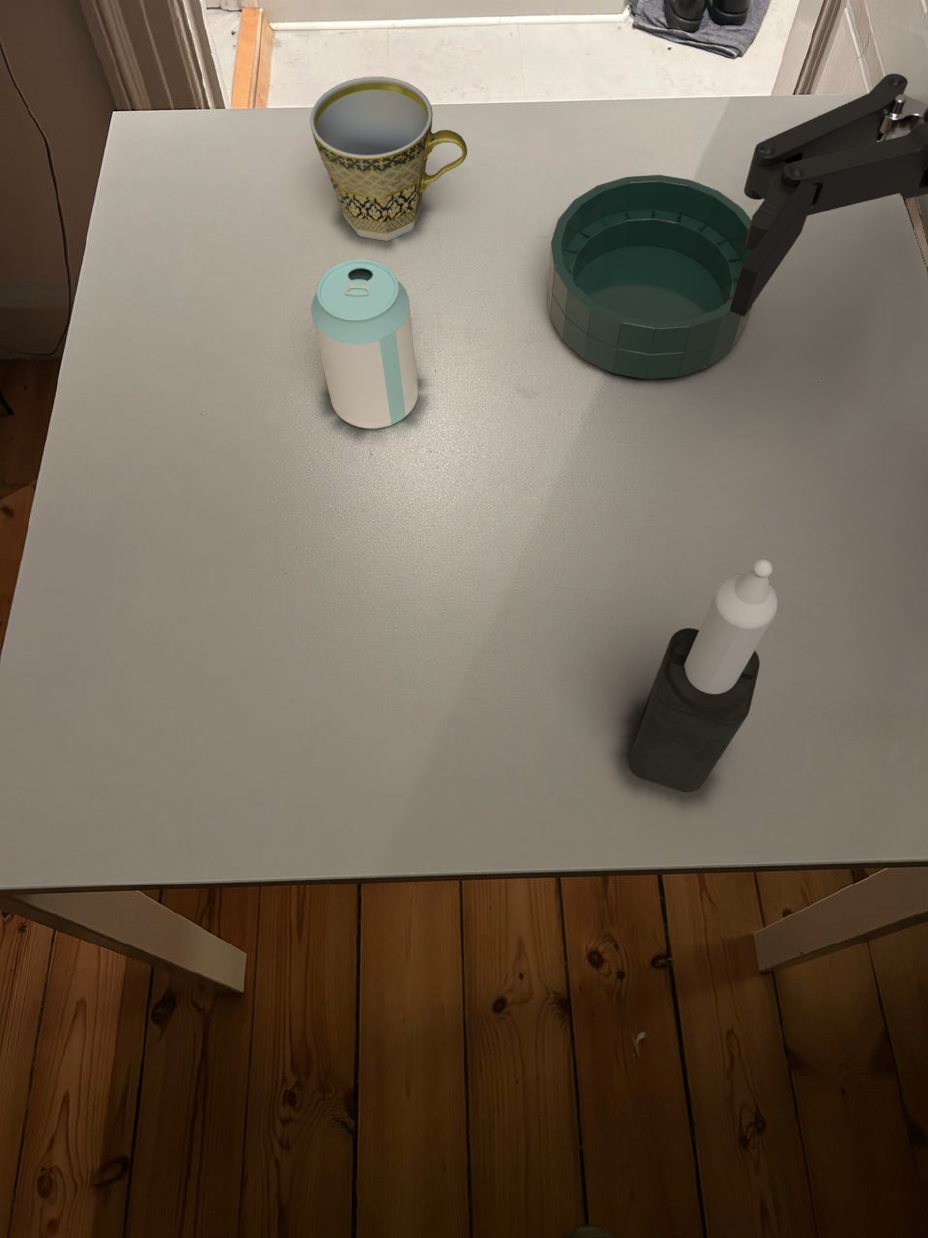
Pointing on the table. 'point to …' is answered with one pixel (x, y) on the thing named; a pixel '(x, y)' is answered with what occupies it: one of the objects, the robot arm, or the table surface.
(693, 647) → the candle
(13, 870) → the table surface
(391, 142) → the ceramic cup
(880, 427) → the table surface
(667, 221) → the bowl
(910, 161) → the robot arm
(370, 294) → the can
